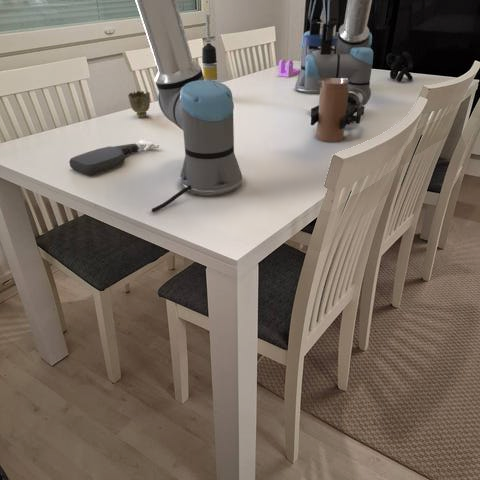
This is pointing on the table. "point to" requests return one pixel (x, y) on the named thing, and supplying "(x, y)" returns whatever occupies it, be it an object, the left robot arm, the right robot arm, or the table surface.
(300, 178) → the table surface
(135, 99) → the cup
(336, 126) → the jar
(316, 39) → the lid
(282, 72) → the bracket
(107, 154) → the spray bottle
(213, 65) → the black tall bottle
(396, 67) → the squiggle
